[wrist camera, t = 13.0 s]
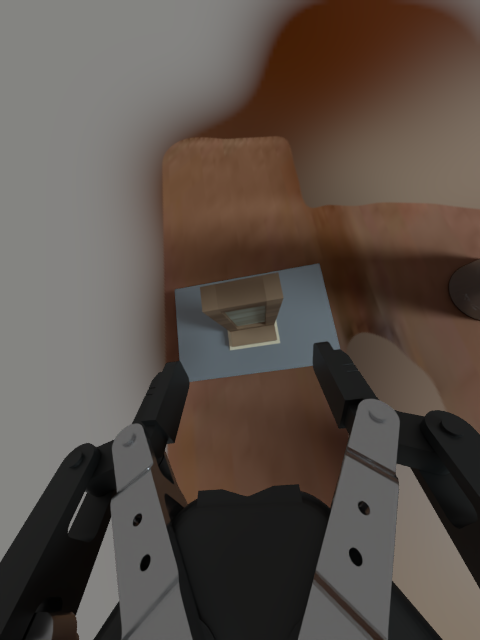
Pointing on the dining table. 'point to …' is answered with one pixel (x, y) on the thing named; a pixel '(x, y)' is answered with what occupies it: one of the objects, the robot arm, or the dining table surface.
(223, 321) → the walnut frame
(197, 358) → the display step
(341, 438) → the dining table surface
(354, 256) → the dining table surface
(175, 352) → the dining table surface
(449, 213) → the dining table surface
